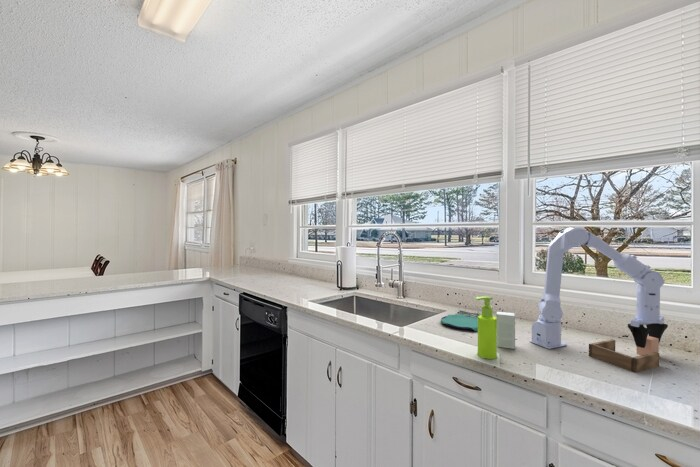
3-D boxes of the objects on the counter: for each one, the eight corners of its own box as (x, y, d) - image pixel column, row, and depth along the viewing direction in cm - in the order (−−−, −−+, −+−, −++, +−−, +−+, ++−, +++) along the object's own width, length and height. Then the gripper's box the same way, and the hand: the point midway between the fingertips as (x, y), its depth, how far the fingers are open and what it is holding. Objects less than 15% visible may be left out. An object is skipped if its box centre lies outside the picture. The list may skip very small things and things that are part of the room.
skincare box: (514, 345, 115) (514, 312, 115) (515, 349, 111) (515, 316, 111) (496, 342, 117) (496, 311, 117) (496, 346, 114) (496, 314, 113)
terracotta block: (651, 358, 103) (651, 340, 103) (636, 353, 107) (636, 336, 107) (658, 356, 104) (658, 338, 104) (643, 351, 108) (643, 334, 108)
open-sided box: (634, 372, 93) (635, 359, 93) (588, 355, 105) (588, 343, 105) (659, 366, 97) (659, 353, 97) (612, 350, 109) (612, 339, 109)
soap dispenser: (471, 352, 109) (471, 295, 108) (490, 351, 109) (490, 294, 109) (480, 359, 103) (480, 299, 102) (500, 358, 103) (500, 298, 103)
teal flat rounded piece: (434, 326, 138) (434, 321, 138) (456, 312, 162) (456, 307, 162) (481, 336, 126) (481, 330, 126) (498, 319, 150) (498, 314, 150)
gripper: (649, 310, 99) (648, 352, 99) (676, 306, 104) (675, 346, 104) (623, 305, 106) (623, 345, 106) (649, 301, 111) (649, 339, 111)
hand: (647, 345), depth 106 cm, fingers open, 7 cm apart
